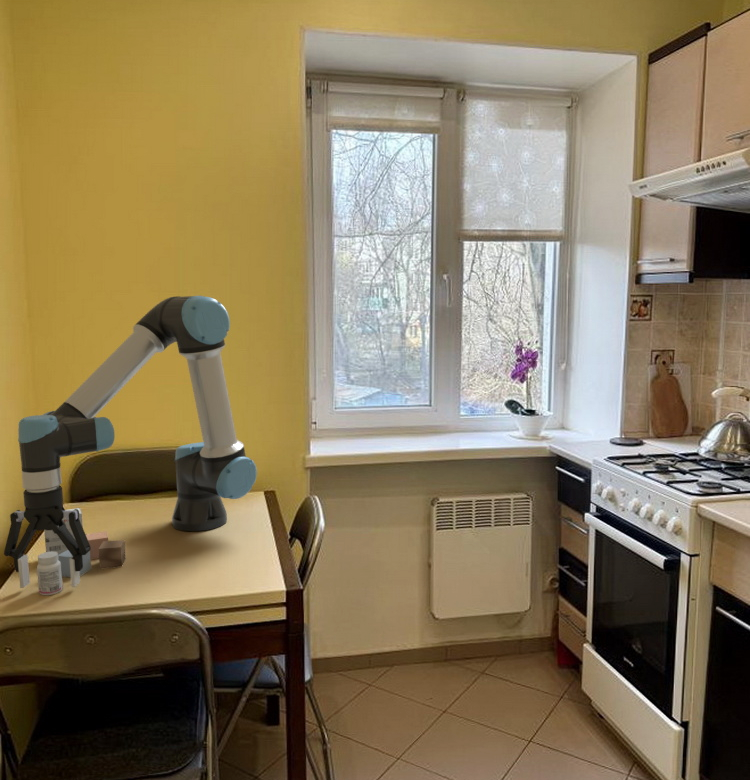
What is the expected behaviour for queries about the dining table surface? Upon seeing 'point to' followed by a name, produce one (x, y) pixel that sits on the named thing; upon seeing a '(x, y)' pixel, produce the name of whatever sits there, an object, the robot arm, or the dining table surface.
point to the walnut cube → (112, 554)
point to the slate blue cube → (65, 563)
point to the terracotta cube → (96, 542)
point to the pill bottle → (49, 573)
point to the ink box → (54, 541)
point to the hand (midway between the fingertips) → (50, 585)
